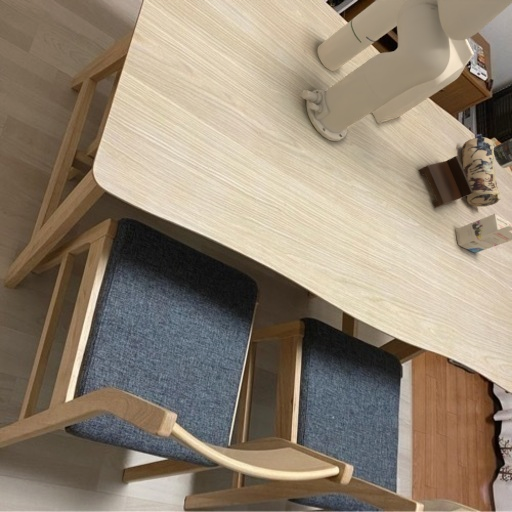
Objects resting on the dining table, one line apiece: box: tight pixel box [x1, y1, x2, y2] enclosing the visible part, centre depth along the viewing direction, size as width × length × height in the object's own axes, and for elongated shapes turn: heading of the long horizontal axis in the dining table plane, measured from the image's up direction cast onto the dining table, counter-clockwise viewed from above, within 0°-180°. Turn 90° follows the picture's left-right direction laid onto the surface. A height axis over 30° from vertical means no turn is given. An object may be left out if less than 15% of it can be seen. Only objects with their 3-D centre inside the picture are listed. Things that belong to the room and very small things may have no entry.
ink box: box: [455, 213, 512, 254], centre depth 151 cm, size 8×5×15 cm, turn 89°
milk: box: [371, 38, 475, 124], centre depth 140 cm, size 12×12×26 cm
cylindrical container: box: [316, 0, 406, 72], centre depth 131 cm, size 7×7×25 cm
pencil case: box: [461, 133, 501, 208], centre depth 165 cm, size 22×8×10 cm, turn 173°
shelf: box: [418, 155, 473, 209], centre depth 153 cm, size 12×11×6 cm
